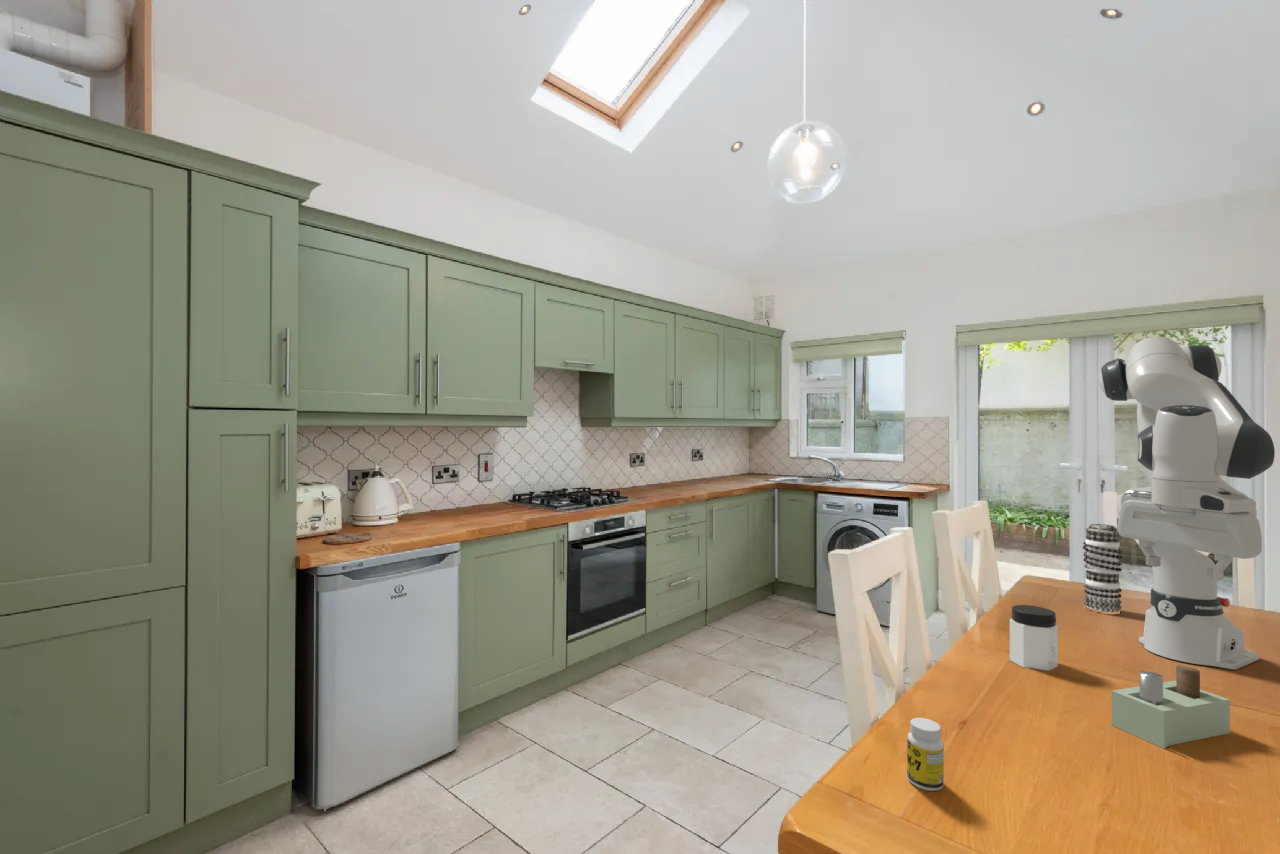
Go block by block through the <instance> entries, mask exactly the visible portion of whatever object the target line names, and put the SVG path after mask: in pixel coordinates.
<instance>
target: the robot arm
mask: <svg viewBox="0 0 1280 854" xmlns="http://www.w3.org/2000/svg"><path fill="white" fill-rule="evenodd" d="M1222 367H1223V366H1222V361H1221V359H1220V357H1219V355H1218V354H1217V353H1216V352H1215V351H1214V350H1213V348H1211V346H1208V345H1201V344H1199V345H1198V344H1195V345H1191V344H1190V345H1188V346H1186V347H1185V346H1184V347H1182V346H1180V345H1179V344H1178V343H1177V342H1176V341H1174V339H1173V340H1172V339H1170V338H1169V337H1164V336H1152V337H1147V338H1145V339H1142V340H1140V341H1138V342H1137V343H1135V344H1134V345H1133V346H1132V347H1131V348H1130V350H1129V352H1128V354H1127V357H1124V358H1115V359H1113V360H1110V361H1108V362H1106V363H1104V365H1102V367H1101V368H1100V372H1099V375H1098V384H1099V385H1098V386H1099V388H1100V389H1101V391H1102V392H1103V394H1104V395H1105V396H1106V398H1108V399H1109V400H1111V401H1116V402H1124V401H1125V402H1126V401H1127V402H1128V400H1135V401H1137V406H1136V425H1137V431H1138V433H1137V438H1138V455H1137V459H1136V460H1137V462H1139V463H1140V464H1141V465H1142V466H1143V467H1144V468H1146V469H1148V470H1149V471H1153V472H1152V474H1151V486H1143V487H1136V488H1131V489H1127V490H1125V491H1124V492H1123V493H1122V494H1121V495H1120V497H1118V499H1117V503H1116V511H1117V516H1118V522H1117V530H1118V532H1119V536H1121V537H1122V538H1126V539H1132V540H1137V541H1138V547H1139V548H1140V550H1141V551H1142V554H1143V555H1144V556H1145V565H1146V566H1149V567H1151V569H1152V588H1151V589H1150V594H1149V598H1150V599H1149V600H1150V604H1151V606H1150V608H1148V609H1146V610H1145V611H1146V612H1145V619H1144V629H1143V636H1138V642H1139V643H1140V644H1142V645H1143V648H1145V650H1147V651H1149V652H1151V653H1153V654H1155V655H1158V656H1161V657H1164V658H1166V659H1171V660H1175V661H1180V662H1183V663H1188V664H1194V665H1200V666H1208V667H1210V666H1211V667H1216V668H1217V667H1218V668H1221V669H1226V670H1238V669H1240V668H1243V667H1245V666H1247V665H1250V664H1252V663H1254V662H1257V661H1259V660H1260V655H1259V654H1258V653H1256V652H1254V651H1251V650H1249V649H1246V648H1245V646H1246V645H1245V635H1244V631H1242V629H1240V628H1239V627H1238V626H1237V625H1236V624H1234V623H1233V622H1232V621H1231V620H1230V619H1228V617H1226V616H1225V615H1224V610H1223V609H1224V608H1223V607H1225V608H1229V607H1230V606H1231V600H1230V599H1229V598H1228V597H1222V596H1218V581H1223V579H1224V573H1225V572H1224V570H1226V569H1227V568H1228V566H1230V564H1232V562H1233V558H1237V559H1254V558H1257V557H1258V556H1259V555H1261V553H1262V551H1263V550H1262V549H1263V548H1262V547H1263V541H1262V531H1261V530H1262V529H1261V523H1260V521H1259V520H1258V517H1257V515H1258V513H1257V512H1258V511H1257V502H1256V501H1255V499H1253V498H1250V497H1249V496H1248V495H1246V494H1245V493H1243V492H1241V491H1240V490H1237V489H1236V488H1234V487H1233V486H1231V485H1230V484H1229V483H1227V482H1226V481H1225V480H1224V479H1223V478H1222V477H1221V476H1223V477H1224V476H1225V477H1227V478H1236V479H1237V478H1238V479H1247V480H1248V479H1249V480H1250V479H1252V478H1255V477H1256V476H1259V475H1261V474H1263V473H1264V472H1266V471H1267V470H1269V468H1271V467H1272V466H1273V465H1274V461H1275V453H1276V452H1275V445H1274V441H1273V439H1272V437H1271V435H1270V433H1269V432H1268V431H1267V430H1266V429H1264V428H1263V427H1262V426H1261V425H1260V424H1258V423H1257V422H1255V420H1254V419H1252V418H1251V416H1250V415H1249V414H1248V412H1247V411H1246V410H1245V409H1244V407H1243V406H1242V405H1241V404H1240V402H1239V401H1238V400H1237V399H1236V397H1235V396H1234V395H1233V394H1232V393H1231V391H1230V390H1229V389H1228V388H1227V387H1226V386H1225V385H1224V384H1223V383H1222V382H1220V381H1219V380H1220V376H1221V374H1222ZM1202 552H1204V553H1209V554H1213V555H1214V556H1213V557H1214V558H1213V559H1214V561H1217V563H1216V564H1215V562H1214V561H1213V560H1212V559H1211V558H1210V557H1209V556H1207V555H1206V554H1204V553H1202Z"/></svg>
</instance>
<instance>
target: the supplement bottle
mask: <svg viewBox="0 0 1280 854" xmlns="http://www.w3.org/2000/svg"><path fill="white" fill-rule="evenodd" d="M909 730H910V731H909V732H908V734H907V753H906V755H907V756H906V757H907V758H906V759H907V761H906V763H907V765H906V766H907V768H906V769H907V770H906V773H907V779H908V781H909V782H910V783H911V784H912V785H913V786H915V787H917V788H918V789H921V790H924V791H930V792H934V791H935V792H936V791H939V790H942V788H943V787H944V775H945V773H944V766H945V764H944V761H945V760H944V757H945V756H944V752H945V751H944V749H945V748H944V741H943V740H942V738H941V737H942V729H941V726H940V724H939V723H937V722H936V721H934V720H932V719H929V718H924V717H915V718H912V719H911V720H910V725H909Z"/></svg>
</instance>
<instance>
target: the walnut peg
mask: <svg viewBox="0 0 1280 854" xmlns="http://www.w3.org/2000/svg"><path fill="white" fill-rule="evenodd" d="M1175 669H1176V675H1175V676H1176V677H1175V678H1176V680H1175V681H1176V685H1177V693H1179V694H1182V695H1184V696H1187V697H1190V698H1193V699H1198V698H1200V689H1201V672H1200V670H1199V669H1197V668H1195V667H1190V666H1187V665H1185V666H1184V665H1176V666H1175Z"/></svg>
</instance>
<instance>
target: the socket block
mask: <svg viewBox="0 0 1280 854" xmlns="http://www.w3.org/2000/svg"><path fill="white" fill-rule="evenodd" d="M1111 726H1113V727H1115V728H1117V729H1119V730H1121V731H1124V732H1126V733H1128V734H1130V735H1133V736H1135V737H1137V738H1139V739H1141V740H1144V741H1146V742H1148V743H1151V744H1153V745H1155V746H1157V747H1160V748H1161V749H1170V747H1169V746H1173V745H1177V744H1182V743H1188V742H1191V741H1192V742H1193V741H1198V740H1202V739H1203V740H1204V739H1207V738H1212V737H1218V736H1221V735H1227V734H1231V699H1230V698H1227V697H1224V696H1220V695H1217V694H1215V693H1212V692H1210V691H1206V690H1204V689H1201V688H1200V698H1198V699H1193V698H1190V697H1187V696H1184V695H1182V694H1179V693H1177V685H1176V680H1171V681H1170V680H1169V681H1163V705H1158V706H1157V705H1154V704H1152V703H1149V702H1147V701H1144V700H1141V699H1140V685H1138V686H1133V687H1127V688H1121V689H1113V690H1111Z"/></svg>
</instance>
